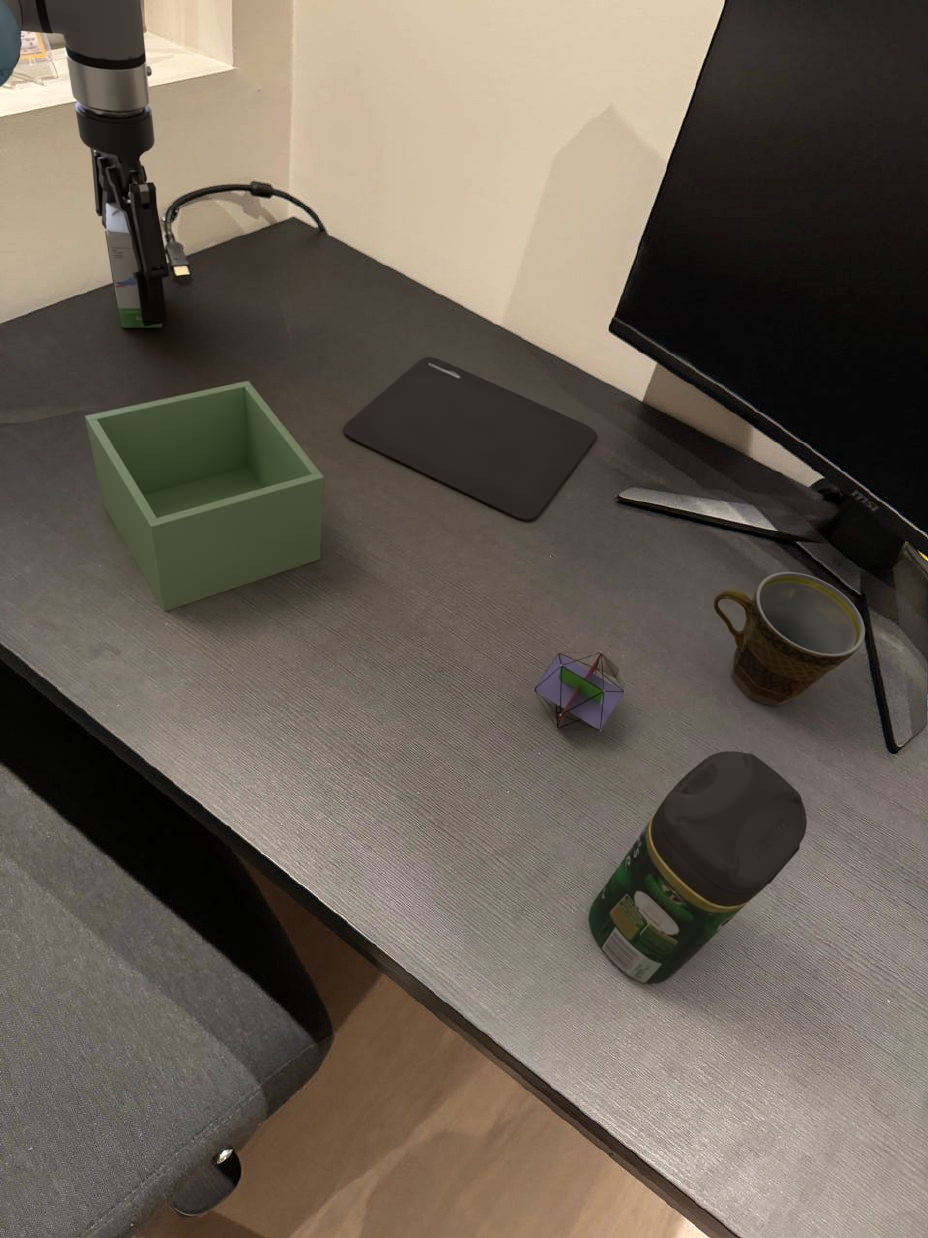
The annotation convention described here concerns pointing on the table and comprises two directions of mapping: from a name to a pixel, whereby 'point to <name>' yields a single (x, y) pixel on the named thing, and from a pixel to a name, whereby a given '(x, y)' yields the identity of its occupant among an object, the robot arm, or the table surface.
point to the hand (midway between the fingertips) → (139, 301)
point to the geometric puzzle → (581, 689)
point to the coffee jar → (697, 864)
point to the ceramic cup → (791, 635)
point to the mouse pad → (473, 436)
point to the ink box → (123, 268)
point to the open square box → (207, 491)
